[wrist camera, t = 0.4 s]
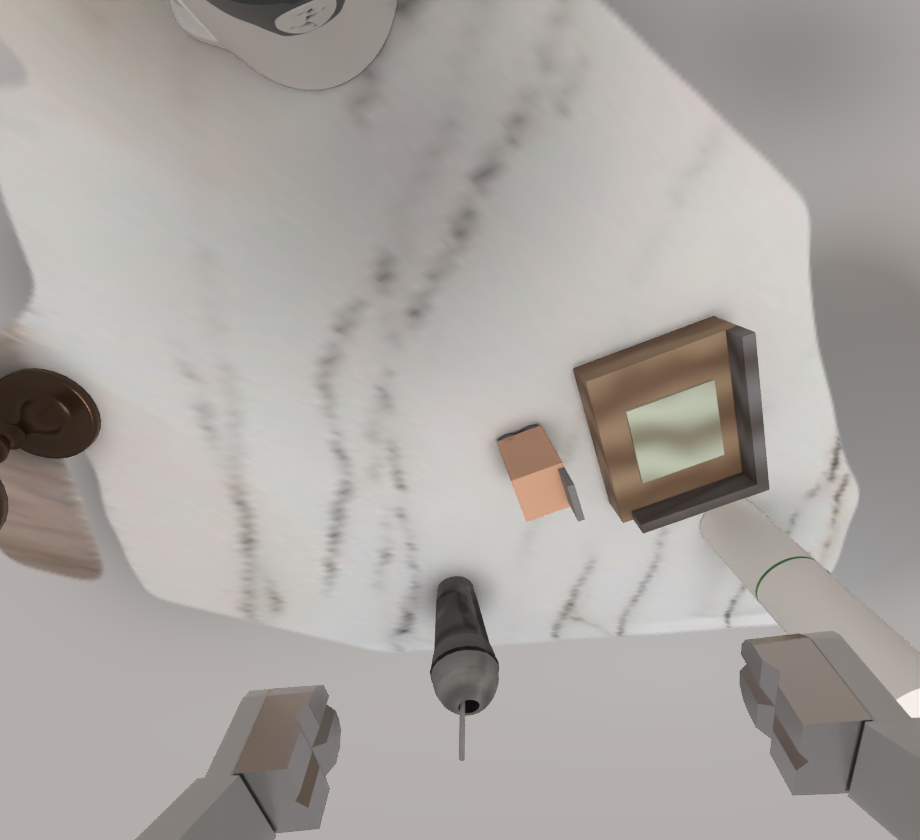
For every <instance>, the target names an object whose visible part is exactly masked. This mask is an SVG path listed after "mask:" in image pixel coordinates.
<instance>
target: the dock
mask: <svg viewBox="0 0 920 840" xmlns="http://www.w3.org/2000/svg"><path fill="white" fill-rule="evenodd" d="M573 370H574V374H575V378H576V381H577V385H578V389H579V392H580V396H581V400H582V403H583V407H584V411H585V414H586V418H587V422H588V425H589V429H590V433H591V436H592V440H593V444H594V447H595V451H596V455H597V458H598V462H599V466H600V469H601V473H602V477H603V480H604V484H605V488H606V491H607V495H608V499H609V502H610V504H611V505H612V507H613V508H614V510H615V511H616V513H617V515H618V516H619V518H620V519H621V521H622V522H623V523H624V522H627V521H630V520H634V521H635V522H636V524H637V525H638V527H639V528H640V530H641V531H642V532H643V533H646V532H649V531H652V530H655V529H657V528H660V527H663V526H666V525H669V524H672V523H675V522H678V521H680V520H683V519H686V518H689V517H692V516H695V515H698V514H701V513H703V512H706V511H709V510H712V509H715V508H718V507H721V506H724V505H726V504H729V503H732V502H735V501H738V500H741V499H744V498H747V497H750V496H752V495H755V494H758V493H761V492H764V491H767V490H769V480H768V469H767V458H766V447H765V436H764V424H763V413H762V402H761V391H760V380H759V369H758V357H757V346H756V335H755V332H753V331H751V330H748V329H745V328H743V327H740V326H738V325H735V324H732V323H730V322H727V321H725V320H722V319H719V318H717V317H714V316H713V317H710V318H708V319H705V320H702V321H700V322H697V323H694V324H692V325H689V326H686V327H684V328H681V329H678V330H675V331H673V332H670V333H667V334H665V335H662V336H659V337H657V338H654V339H651V340H649V341H646V342H643V343H641V344H638V345H635V346H633V347H630V348H627V349H625V350H622V351H619V352H617V353H614V354H611V355H609V356H606V357H603V358H601V359H598V360H595V361H593V362H590V363H587V364H584V365H582V366H579V367H576V368H574V369H573Z"/></svg>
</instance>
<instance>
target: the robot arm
mask: <svg viewBox="0 0 920 840" xmlns="http://www.w3.org/2000/svg"><path fill="white" fill-rule="evenodd" d="M169 1H170V4H171V7H172V11H173V14H174V16H175V19H176V21H177V22H178V24H179V25H180V26H181V28H182V29H183V30H184V31H185V32H186V33H187V34H188V35H190V36H191V37H193V38H195V39H197V40H199V41H202V42H204V43H207V44H211V45H214V46H218V47H221V48H225V49H227V50H228V51H230V52H232V53H233V54H235V55H236V56H237V57H239V58H240V59H241V60H242V61H244V62H245V63H246V64H247V65H249V66H250V67H251V68H252V69H254V70H255V71H257V72H258V73H260V74H261V75H263V76H265V77H266V78H268V79H270V80H272V81H274V82H277V83H279V84H282V85H285V86H288V87H292V88H296V89H302V90H321V89H327V88H331V87H335V86H338V85H340V84H343V83H345V82H347V81H349V80H351V79H352V78H354V77H355V76H357V75H358V74H360V73H361V72H362V71H363V70H364V69H365V68H366V67H367V66H368V65H369V64H370V63H371V62H372V61H373V60H374V58H375V57H376V56H377V54H378V53H379V51H380V50H381V48H382V46H383V44H384V43H385V41H386V39H387V36H388V34H389V31H390V29H391V26H392V23H393V19H394V16H395V11H396V6H397V0H169ZM741 655H742V657H743V658H744V660H745V662H746V665H745V666H744V667H743V668H742V670H740V688H741V692H742V696H743V700H744V703H745V705H746V708H747V710H748V712H749V715H750V716H751V719H752V720H753V722H754V724H755V726H756V728H758V729H759V730H760V731H762V732H763V733H764V734H766V735H767V736H768V737H770V738H771V748H770V754H771V756H772V758H773V760H774V762H775V764H776V765H777V767H778V769H779V771H780V773H781V775H782V776H783V778H784V780H785V782H786V784H787V786H788V788H789V789H790V791H791V793H792V795H814V794H839V793H849V794H848V797H849V798H851V799H852V800H853V801H854V802H855V803H856V804H858V805H859V806H860V807H861V808H862V809H863V810H864V811H866V812H867V813H868V814H869V815H870V816H872V817H873V818H874V819H875V820H876V821H877V822H878V823H880V824H881V825H882V826H883V827H884V828H885V829H886V830H888V831H889V832H890V833H891V834H892V835H893V836H895V837H896V838H897V839H898V840H920V718H911V717H910V716H909V715H908V713H907V712H906V711H905V710H904V709H903V708H902V706H901V705H900V704H899V703H898V702H897V701H896V699H895V698H894V697H893V696H892V695H891V694H890V692H889V691H888V690H887V689H886V688H885V687H884V685H883V684H882V683H881V682H880V681H879V680H878V678H877V677H876V676H875V675H874V674H873V673H872V671H871V670H870V669H869V668H868V667H867V666H866V664H865V663H864V662H863V661H862V660H861V659H860V657H859V656H858V655H857V654H856V653H855V652H854V650H853V649H852V648H851V647H850V646H849V645H848V643H847V642H846V641H845V640H844V639H843V638H842V636H841V635H839V634H838V633H836V632H834V631H824V632H815V633H806V634H791V635H782V636H775V637H765V638H757V639H749V640H745V641H744V642H743V644H742V650H741ZM328 697H329V695H328V693H327V691H326V689H325V687H324V685H315V686H302V687H288V688H274V689H264V690H253V691H249V692H248V694H247V695H246V696H245V697H244V698H243V699H242V701H241V703H240V705H239V707H238V709H237V711H236V713H235V716H234V718H233V720H232V722H231V724H230V726H229V728H228V730H227V732H226V734H225V736H224V738H223V741H222V743H221V745H220V747H219V749H218V751H217V753H216V755H215V757H214V759H213V762H212V763H211V766H210V768H209V770H208V772H207V774H206V776H205V778H198V779H196V781H194V783H192V784H191V785H190V786H189V787H188V788H187V789H186V790H185V791H184V793H182V794H181V795H180V796H179V797H178V798H177V799H176V800H175V801H174V802H173V803H172V804H171V805H170V806H169V807H168V808H167V809H166V810H165V811H164V812H163V813H162V814H161V815H160V816H159V817H158V818H157V819H156V820H155V821H154V822H153V823H152V824H151V825H150V826H149V827H148V828H147V829H146V830H145V831H144V832H143V833H141V834H140V835H139V836H138V837H137V838H136V839H135V840H274V839H275V838H276V834H275V833H283V832H293V831H301V830H311V829H319V828H320V824H321V820H322V816H323V812H324V808H325V804H326V801H327V797H328V793H329V789H330V788H329V785H328V783H327V780H326V777H325V776H326V775H327V774H328V772H329V771H330V770H331V769H332V767H333V766H334V765H335V764H336V761H337V757H338V752H339V748H340V734H341V729H340V723H339V718H338V715H337V713H336V711H335V710H334V709H332V708H331V707H329V706H328V705H326V704H327V700H328Z"/></svg>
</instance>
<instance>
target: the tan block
mask: <svg viewBox="0 0 920 840" xmlns="http://www.w3.org/2000/svg"><path fill="white" fill-rule="evenodd" d="M497 443H498V446H499V449H500V452H501V455H502V457H503V460H504V463H505V466H506V468H507V471H508V474H509V477H510V480H511V482H512V485H513V488H514V490H515V493H516V496H517V498H518V501H519V504H520V506H521V509H522V512H523V514H524V517H525V520H526V522H527V521H530V520H533V519H536V518H539V517H541V516H544V515H547V514H550V513H553V512H556V511H558V510H561V509H564V508H567V507H570V506H571V508H572V510H573V512H574V514H575V516H576V518H577V520H578V522H579V521H581V520H584V519H585V518H584V515H583V512H582V509H581V505H580V502H579V499H578V496H577V492H576V489H575V486H574V483H573V482H572V480H571V478H570V477H569V475H568V473H567V471H566V470H565V468H564V465H563V462H562V461H561V459H560V457H559V455H558V454H557V452H556V450H555V449H554V447H553V445H552V443H551V442H550V440H549V438H548V437H547V435H546V433H545V431H544V430H543V428H542V426H541V425H540V426H538V427H537V426H536V425H530V426H527V427H526V428H524V430H523V432H521V433H518V434H516V435H514V434H512V433H509V434H505V435H503V436H502V437H501V438H500V440H499V441H497Z"/></svg>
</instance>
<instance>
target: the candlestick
mask: <svg viewBox="0 0 920 840" xmlns="http://www.w3.org/2000/svg"><path fill="white" fill-rule="evenodd" d="M100 426H101V419H100V414H99V411H98V409H97V406H96V404H95V403H94V401H93V400H92V398H91V397H90V395H89V394H88V393H87V392H86V391H85V390H84V389H83V388H82V387H81V386H79V385H78V384H77V383H76V382H74V381H72V380H71V379H69V378H67V377H66V376H63V375H61V374H58V373H56V372H53V371H49V370H44V369H23V370H20V371H16V372H13V373H11V374H9V375H7V376H5V377H3V378H1V379H0V463H1V462H3V461H4V460H5V459H6V458H7V456H8V454H9V450H10V449H13V450H14V449H19V448H20V449H22V450H24V451H26V452H28V453H31V454H34V455H37V456H41V457H46V458H57V459H59V458H68V457H71V456H74V455H77V454H78V453H81V452H82V451H84V450H85V449H86V448H88V447H89V446H90V445H91V444H92V443H93V442H94V441H95V440H96V438H97V437H98V435H99V431H100ZM7 514H8V497H7V494H6V491H5V488H4V485H3V483H2V482H1V480H0V529H1V528H2V526H3V524H4V523H5V521H6V518H7Z"/></svg>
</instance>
